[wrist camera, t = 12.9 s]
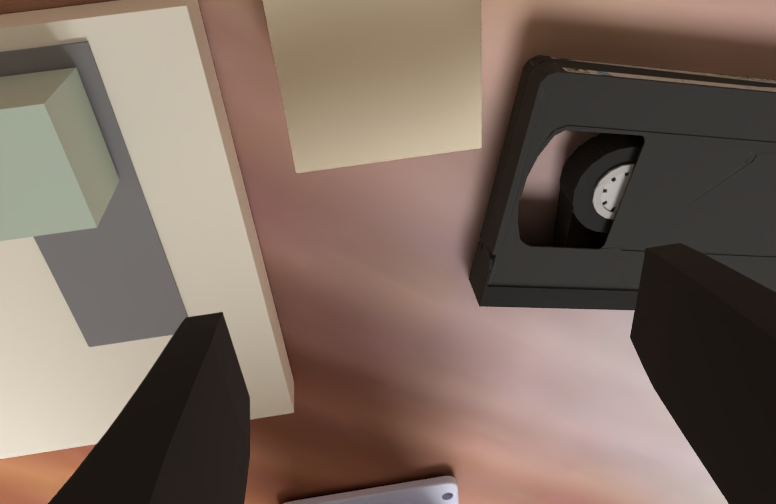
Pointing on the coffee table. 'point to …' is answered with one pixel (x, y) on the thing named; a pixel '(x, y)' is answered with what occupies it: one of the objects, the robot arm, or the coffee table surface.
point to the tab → (51, 156)
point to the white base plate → (132, 231)
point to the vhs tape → (632, 181)
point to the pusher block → (377, 78)
